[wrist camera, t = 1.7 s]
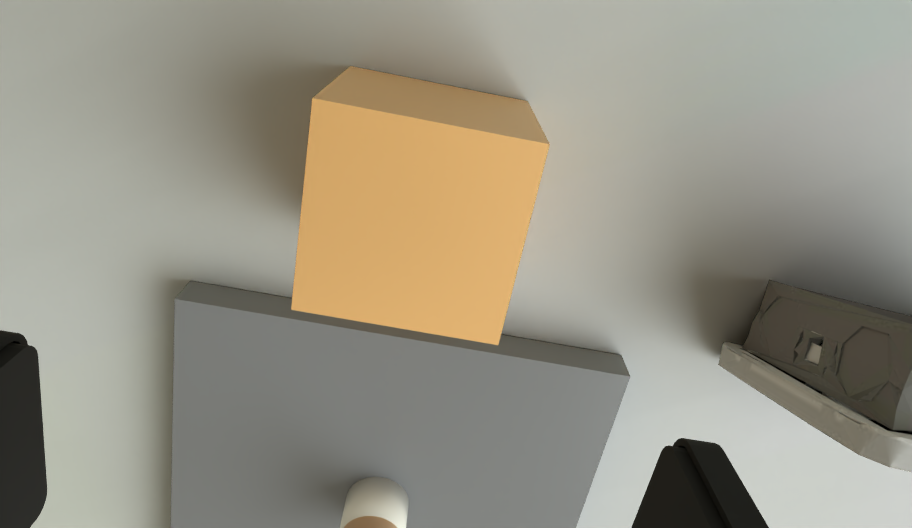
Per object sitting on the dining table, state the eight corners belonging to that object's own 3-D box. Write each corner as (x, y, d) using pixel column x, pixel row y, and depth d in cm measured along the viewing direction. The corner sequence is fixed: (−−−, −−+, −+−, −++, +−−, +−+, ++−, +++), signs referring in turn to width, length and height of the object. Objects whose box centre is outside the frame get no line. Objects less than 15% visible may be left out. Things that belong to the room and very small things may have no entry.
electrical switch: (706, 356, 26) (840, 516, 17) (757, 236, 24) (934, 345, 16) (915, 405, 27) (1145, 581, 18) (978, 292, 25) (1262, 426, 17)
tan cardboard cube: (350, 65, 21) (312, 97, 16) (527, 101, 22) (549, 144, 16) (330, 232, 24) (290, 309, 18) (489, 261, 24) (498, 345, 19)
